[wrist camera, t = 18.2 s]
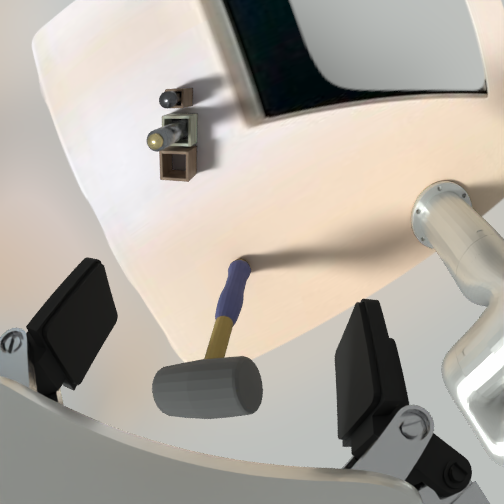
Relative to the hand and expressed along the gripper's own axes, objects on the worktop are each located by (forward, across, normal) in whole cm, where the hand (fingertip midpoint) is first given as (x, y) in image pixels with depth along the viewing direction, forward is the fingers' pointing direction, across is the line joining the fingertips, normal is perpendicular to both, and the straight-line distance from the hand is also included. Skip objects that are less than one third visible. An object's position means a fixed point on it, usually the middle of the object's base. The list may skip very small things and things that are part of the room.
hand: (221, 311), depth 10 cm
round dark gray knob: (+36, +14, -5) cm, 39 cm away
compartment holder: (+36, +14, 0) cm, 39 cm away
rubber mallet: (+36, +4, +24) cm, 44 cm away
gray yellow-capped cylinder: (+36, +14, 0) cm, 39 cm away
